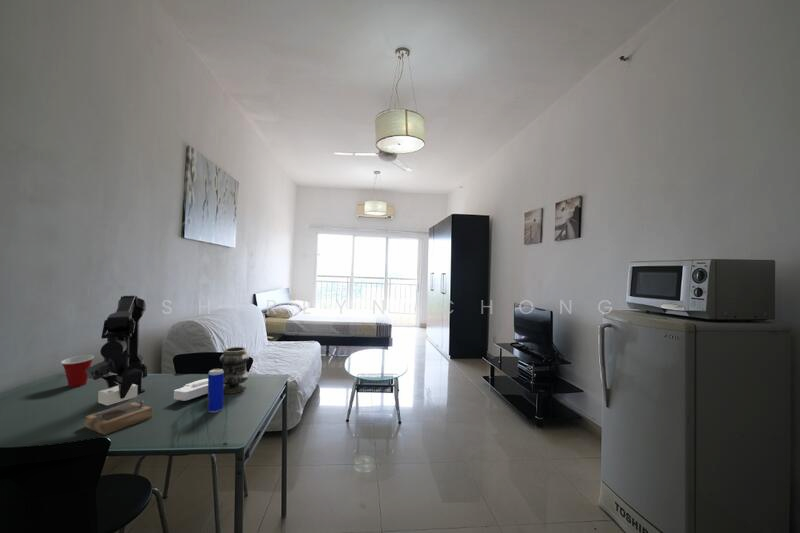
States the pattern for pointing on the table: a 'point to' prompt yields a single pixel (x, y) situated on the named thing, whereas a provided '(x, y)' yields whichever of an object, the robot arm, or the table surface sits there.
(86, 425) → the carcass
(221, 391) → the beverage can
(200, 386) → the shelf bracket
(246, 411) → the table surface
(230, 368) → the apothecary jar
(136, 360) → the robot arm
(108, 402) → the white block
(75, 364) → the plastic cup
